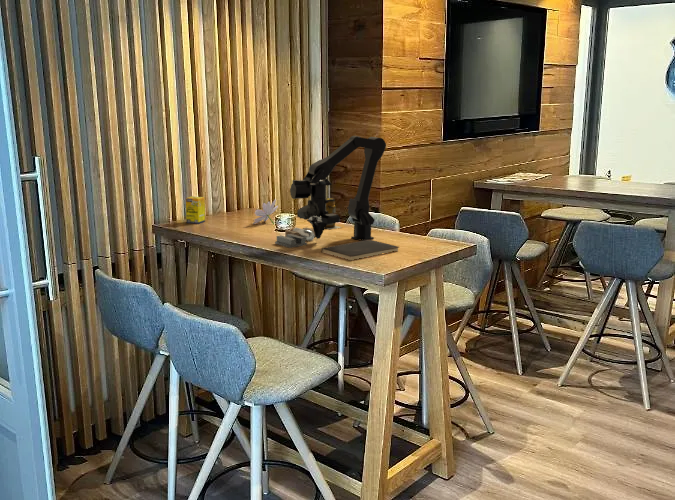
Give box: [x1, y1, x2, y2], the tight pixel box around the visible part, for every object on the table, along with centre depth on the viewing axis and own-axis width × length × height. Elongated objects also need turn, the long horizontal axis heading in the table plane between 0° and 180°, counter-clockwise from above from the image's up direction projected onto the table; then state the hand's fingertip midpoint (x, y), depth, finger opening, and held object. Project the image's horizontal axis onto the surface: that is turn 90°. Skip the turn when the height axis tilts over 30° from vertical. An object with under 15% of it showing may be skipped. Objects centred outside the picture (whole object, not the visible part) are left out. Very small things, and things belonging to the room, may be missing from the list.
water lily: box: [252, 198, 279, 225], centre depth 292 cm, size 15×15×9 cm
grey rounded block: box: [284, 226, 316, 239], centre depth 264 cm, size 6×10×3 cm, turn 131°
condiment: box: [325, 197, 342, 230], centre depth 285 cm, size 7×8×12 cm
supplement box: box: [185, 195, 206, 225], centre depth 292 cm, size 6×6×11 cm
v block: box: [274, 234, 308, 249], centre depth 253 cm, size 9×8×3 cm
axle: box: [291, 227, 315, 242], centre depth 262 cm, size 9×4×4 cm, turn 41°
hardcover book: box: [321, 239, 400, 261], centre depth 242 cm, size 16×23×2 cm
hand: (318, 238), depth 256 cm, fingers closed
